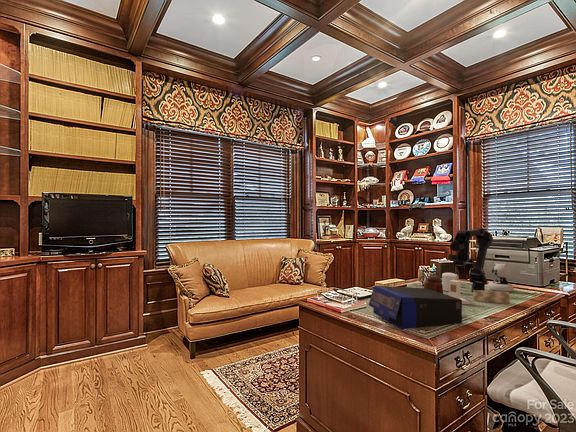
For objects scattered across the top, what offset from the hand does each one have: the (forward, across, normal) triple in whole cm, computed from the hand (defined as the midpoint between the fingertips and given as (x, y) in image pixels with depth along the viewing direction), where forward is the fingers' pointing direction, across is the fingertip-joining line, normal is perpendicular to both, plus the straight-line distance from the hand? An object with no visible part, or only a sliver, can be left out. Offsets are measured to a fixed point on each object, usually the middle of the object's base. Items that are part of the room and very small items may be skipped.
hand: (463, 275), depth 198 cm
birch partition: (+13, +1, +16) cm, 20 cm away
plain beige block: (+12, +17, +1) cm, 21 cm away
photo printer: (+13, -6, -11) cm, 18 cm away
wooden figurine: (+13, +41, 0) cm, 43 cm away
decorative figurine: (+13, -37, +10) cm, 40 cm away
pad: (+13, +17, +1) cm, 21 cm away
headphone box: (+14, +65, 0) cm, 66 cm away
